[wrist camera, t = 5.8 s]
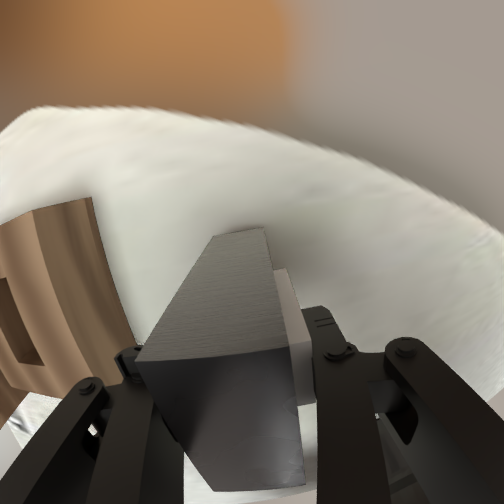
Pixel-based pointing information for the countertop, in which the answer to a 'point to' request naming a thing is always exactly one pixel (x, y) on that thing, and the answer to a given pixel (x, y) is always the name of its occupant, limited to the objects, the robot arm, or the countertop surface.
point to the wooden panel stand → (56, 305)
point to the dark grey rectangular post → (228, 369)
